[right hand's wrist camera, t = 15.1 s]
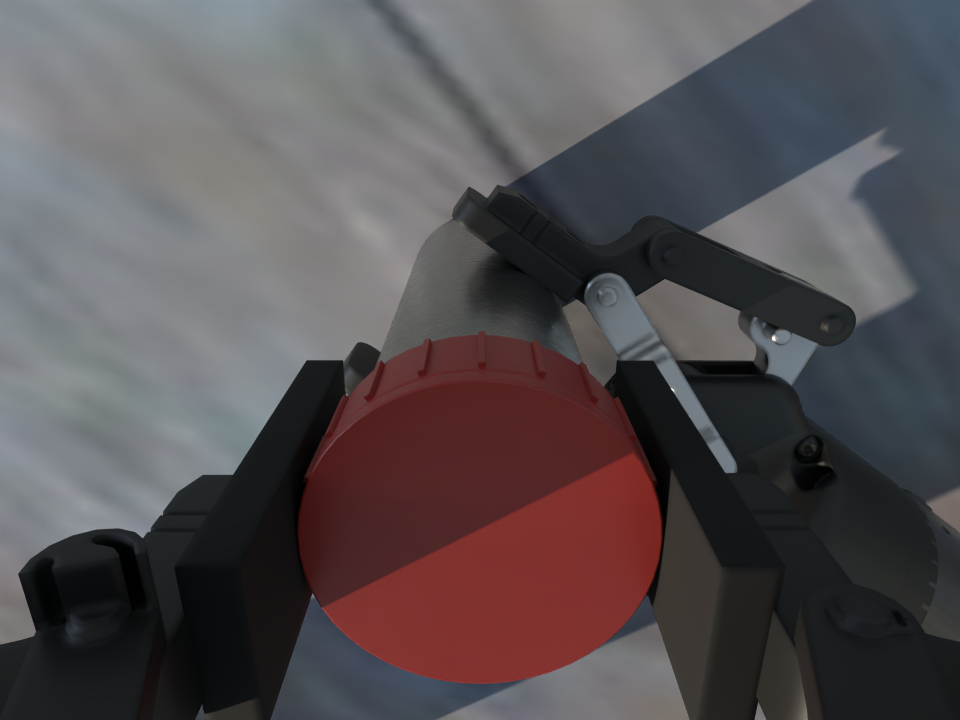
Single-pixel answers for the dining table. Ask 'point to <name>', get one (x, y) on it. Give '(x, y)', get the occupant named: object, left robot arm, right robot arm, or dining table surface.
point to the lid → (480, 512)
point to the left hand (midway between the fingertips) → (403, 286)
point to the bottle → (474, 298)
